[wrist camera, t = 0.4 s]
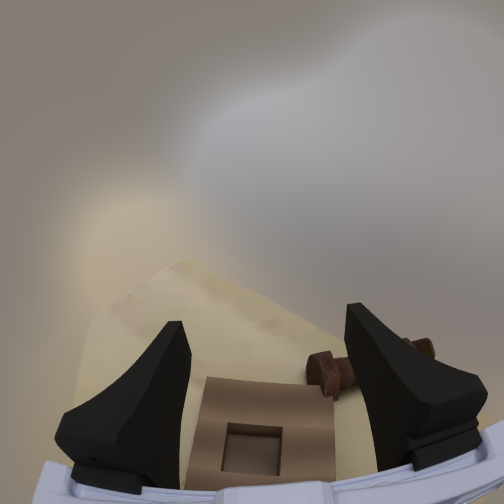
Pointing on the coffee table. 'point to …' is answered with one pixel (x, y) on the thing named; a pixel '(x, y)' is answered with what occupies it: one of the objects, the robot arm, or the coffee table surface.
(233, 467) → the bore block
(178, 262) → the coffee table surface
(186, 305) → the coffee table surface
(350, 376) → the bolt
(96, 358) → the coffee table surface
